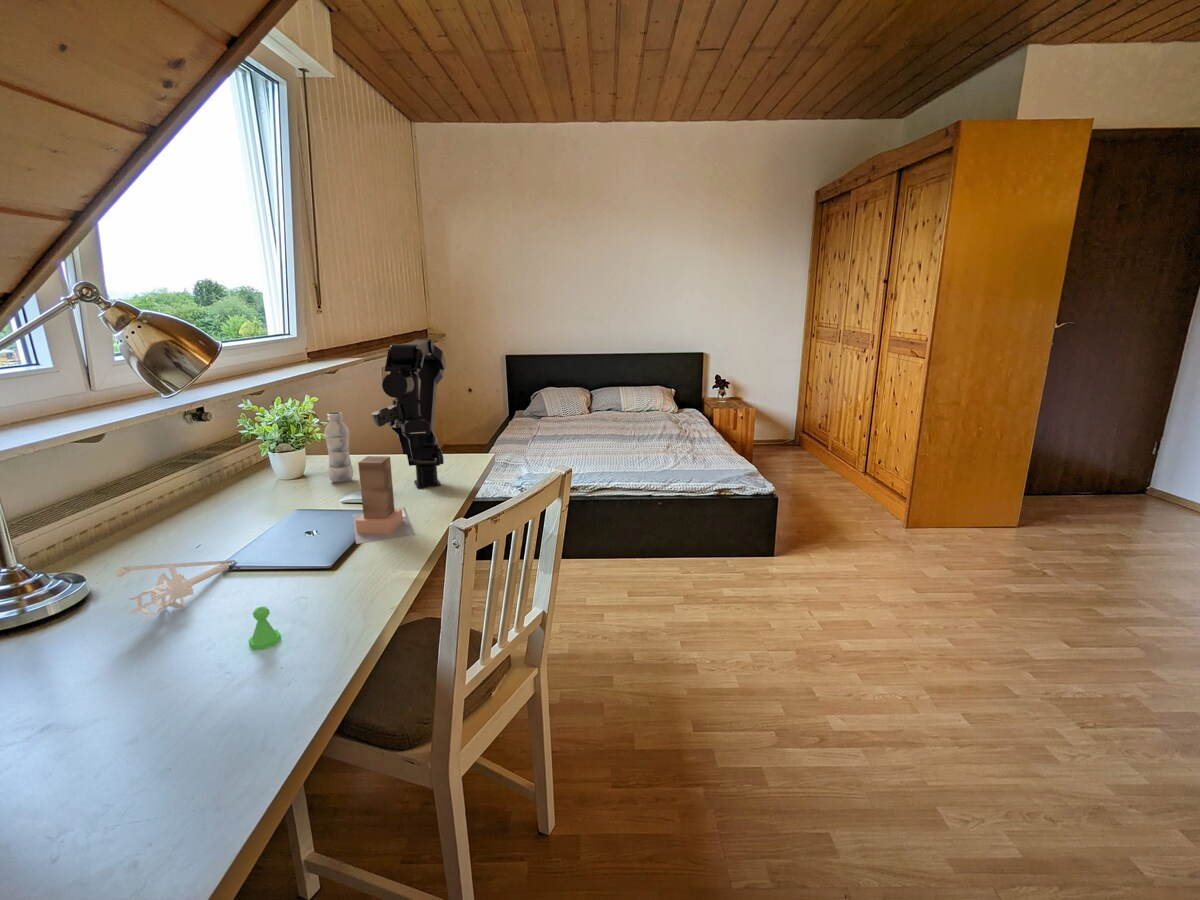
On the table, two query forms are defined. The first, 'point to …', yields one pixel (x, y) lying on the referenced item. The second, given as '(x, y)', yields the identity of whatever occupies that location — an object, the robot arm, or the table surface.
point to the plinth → (379, 523)
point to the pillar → (376, 487)
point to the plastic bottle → (338, 448)
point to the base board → (400, 531)
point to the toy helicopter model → (171, 584)
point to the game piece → (263, 631)
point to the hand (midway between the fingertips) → (410, 457)
